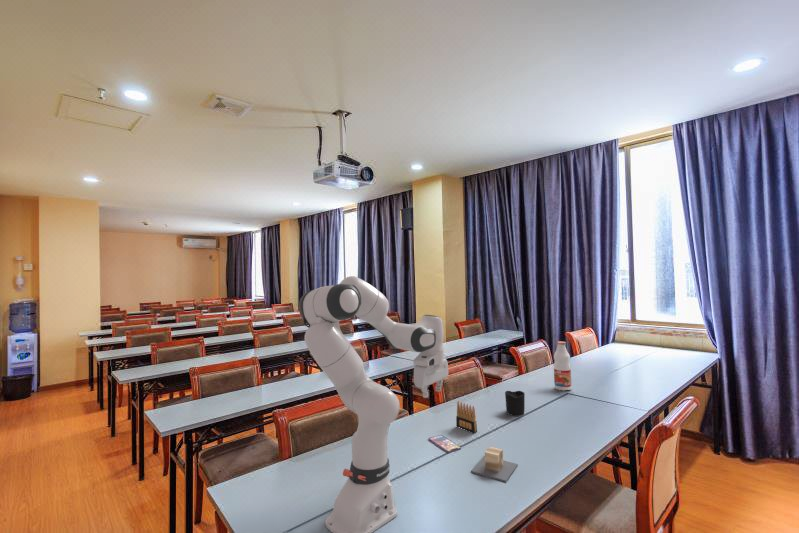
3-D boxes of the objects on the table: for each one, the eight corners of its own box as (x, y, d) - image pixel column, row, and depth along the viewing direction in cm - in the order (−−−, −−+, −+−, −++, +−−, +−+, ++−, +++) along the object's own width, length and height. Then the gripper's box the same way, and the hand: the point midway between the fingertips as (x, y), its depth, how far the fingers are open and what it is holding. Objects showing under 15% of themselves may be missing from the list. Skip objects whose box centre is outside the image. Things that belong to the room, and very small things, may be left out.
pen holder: (518, 417, 187) (517, 397, 187) (502, 412, 194) (501, 393, 194) (528, 412, 193) (528, 392, 193) (512, 408, 200) (511, 388, 200)
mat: (506, 482, 131) (506, 480, 131) (470, 472, 138) (470, 470, 138) (517, 465, 142) (517, 464, 142) (484, 457, 149) (484, 455, 149)
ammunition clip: (477, 432, 172) (476, 405, 172) (474, 433, 170) (473, 406, 171) (458, 425, 180) (458, 400, 180) (456, 426, 179) (455, 401, 179)
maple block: (498, 472, 136) (498, 455, 136) (485, 468, 139) (484, 452, 139) (503, 466, 141) (502, 449, 141) (490, 462, 143) (489, 446, 143)
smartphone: (441, 436, 170) (462, 449, 156) (427, 440, 166) (447, 454, 153) (441, 434, 170) (462, 447, 157) (427, 438, 166) (447, 451, 153)
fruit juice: (574, 389, 228) (572, 341, 228) (566, 392, 222) (564, 344, 223) (559, 385, 235) (558, 340, 236) (551, 388, 230) (549, 342, 230)
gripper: (438, 352, 156) (438, 386, 155) (410, 361, 139) (410, 399, 139) (452, 353, 152) (452, 389, 152) (425, 363, 135) (425, 402, 135)
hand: (432, 394), depth 145 cm, fingers open, 8 cm apart
